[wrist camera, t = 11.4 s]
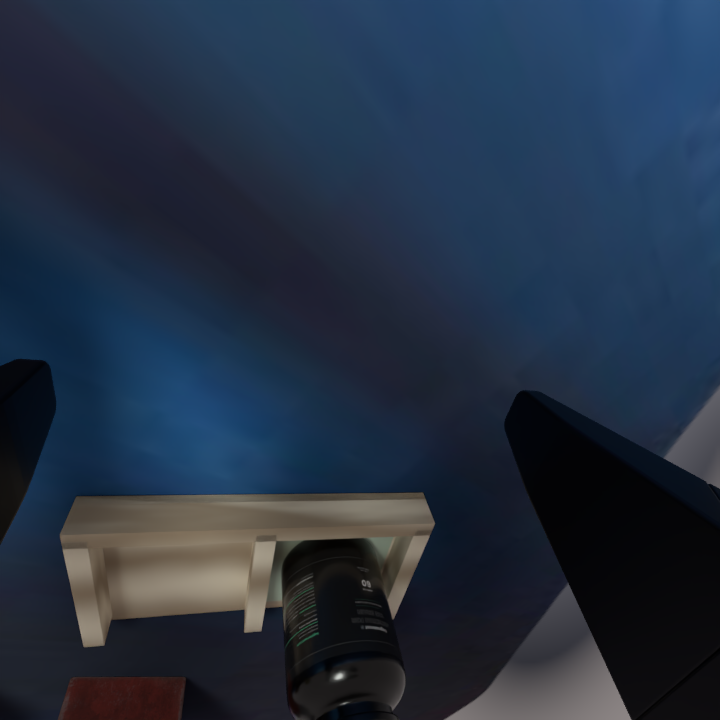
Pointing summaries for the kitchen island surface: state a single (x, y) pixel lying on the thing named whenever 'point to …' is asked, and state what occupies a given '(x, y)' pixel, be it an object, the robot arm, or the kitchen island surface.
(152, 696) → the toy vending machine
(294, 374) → the kitchen island surface
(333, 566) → the supplement bottle
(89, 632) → the birch rack
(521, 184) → the kitchen island surface
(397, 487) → the kitchen island surface
